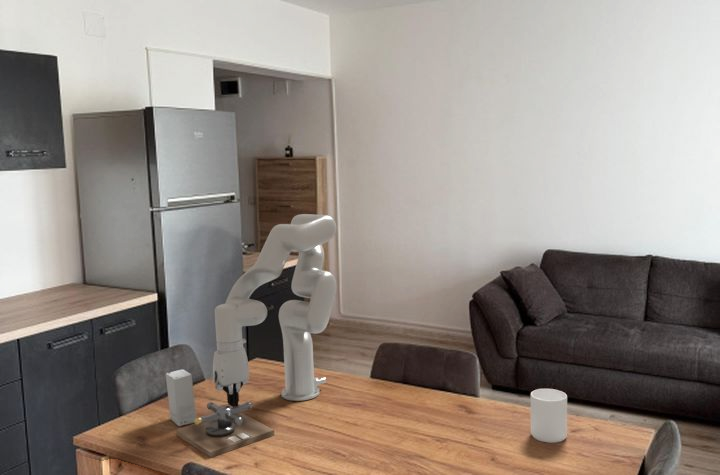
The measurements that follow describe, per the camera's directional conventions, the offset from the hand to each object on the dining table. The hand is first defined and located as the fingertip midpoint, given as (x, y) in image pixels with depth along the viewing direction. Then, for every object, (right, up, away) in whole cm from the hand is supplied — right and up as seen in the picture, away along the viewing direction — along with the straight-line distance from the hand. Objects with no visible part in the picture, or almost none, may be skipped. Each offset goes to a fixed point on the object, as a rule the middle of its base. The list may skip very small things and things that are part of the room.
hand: (233, 405), depth 198 cm
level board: (-1, -6, -9) cm, 11 cm away
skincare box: (-16, -6, +3) cm, 17 cm away
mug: (+90, -4, -16) cm, 91 cm away
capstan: (-1, -5, -9) cm, 10 cm away
